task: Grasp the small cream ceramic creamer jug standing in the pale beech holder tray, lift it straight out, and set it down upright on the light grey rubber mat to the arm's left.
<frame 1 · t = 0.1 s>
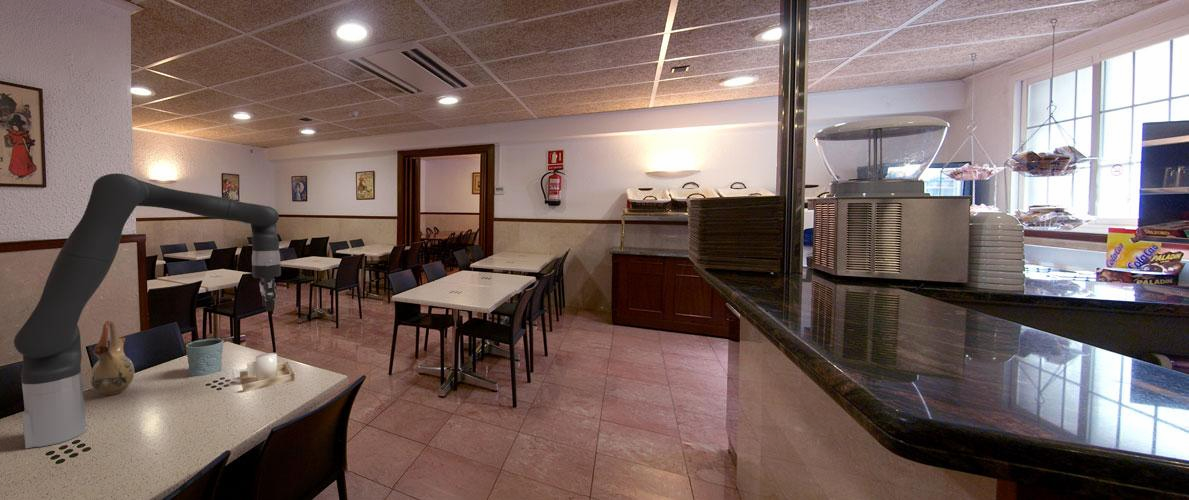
hand: (268, 308, 134), 29 cm above the table, fingers open, 8 cm apart
beech holder: (267, 380, 142), on the table
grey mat: (251, 373, 147), on the table
teal plant pot: (206, 373, 146), on the table
cream jug: (267, 379, 142), resting on beech holder
ceramic vessel: (114, 392, 129), on the table
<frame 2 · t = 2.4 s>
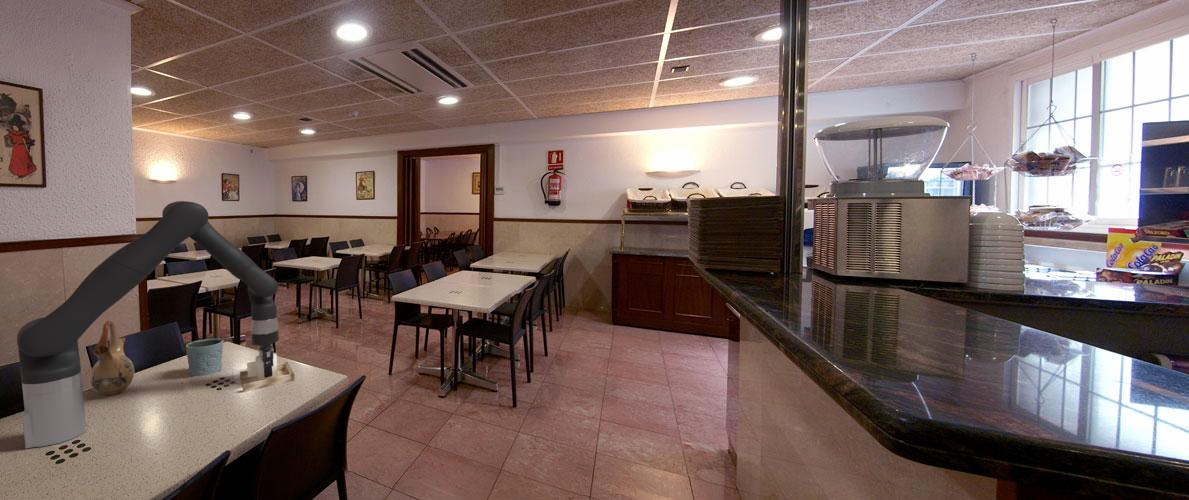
hand: (267, 373, 141), 3 cm above the table, fingers closed on cream jug, 6 cm apart
cream jug: (267, 379, 142), point 1 cm above the table, touching beech holder, gripper
everything else where it was.
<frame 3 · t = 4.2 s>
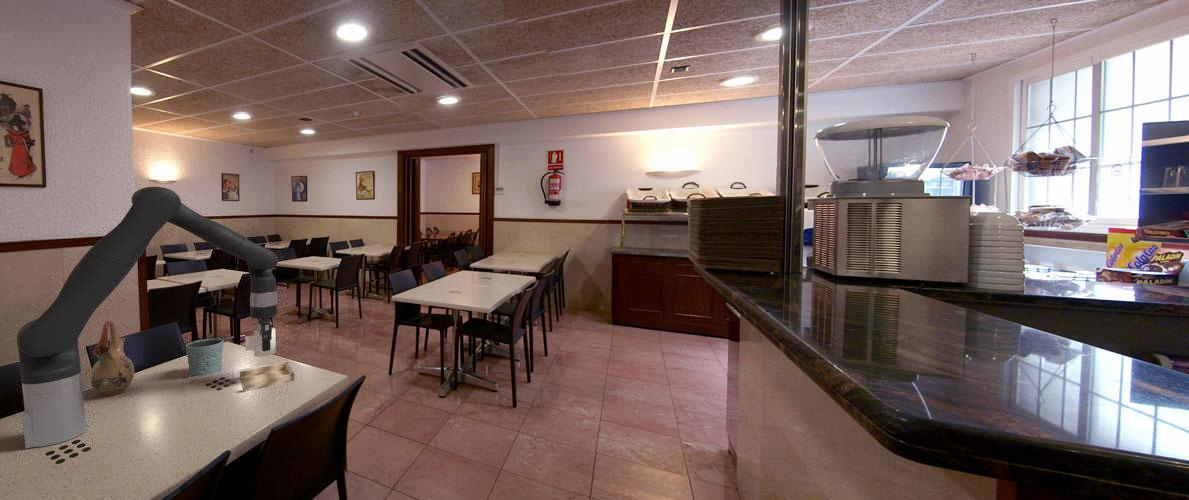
hand: (265, 348, 140), 13 cm above the table, fingers closed on cream jug, 6 cm apart
cream jug: (265, 353, 141), point 10 cm above the table, touching gripper
everything else where it was.
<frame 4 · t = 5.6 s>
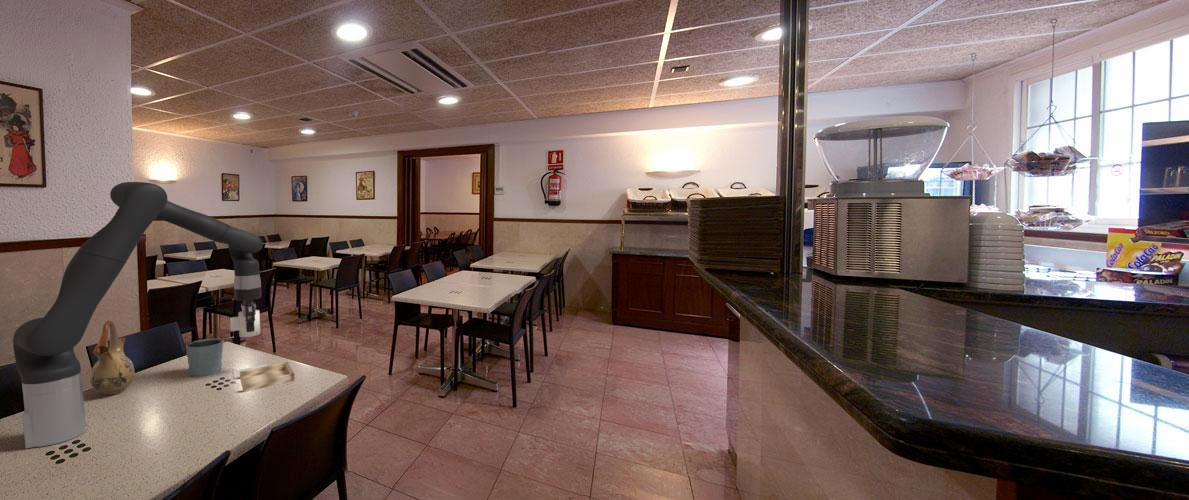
hand: (249, 329, 146), 17 cm above the table, fingers closed on cream jug, 6 cm apart
cream jug: (250, 334, 146), point 15 cm above the table, touching gripper
everything else where it was.
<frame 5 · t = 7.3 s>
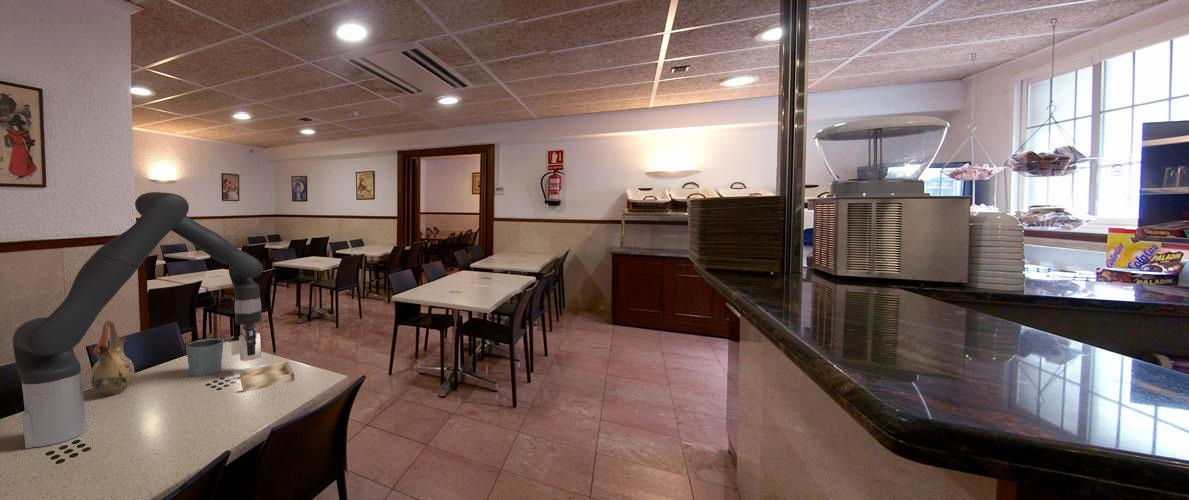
hand: (250, 352, 147), 8 cm above the table, fingers closed on cream jug, 6 cm apart
cream jug: (250, 357, 147), point 6 cm above the table, touching gripper
everything else where it was.
when the fingers open (4 cm above the table, at t = 8.7 s): cream jug drops 1 cm, resting on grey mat.
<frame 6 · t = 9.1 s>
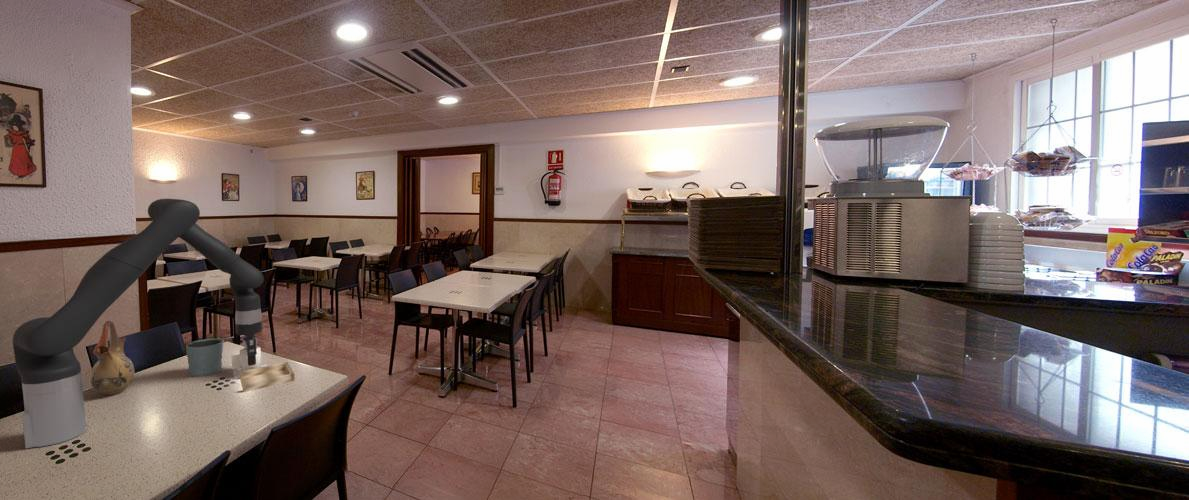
hand: (250, 361, 147), 5 cm above the table, fingers open, 8 cm apart
cream jug: (251, 371, 147), point 1 cm above the table, touching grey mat
everything else where it was.
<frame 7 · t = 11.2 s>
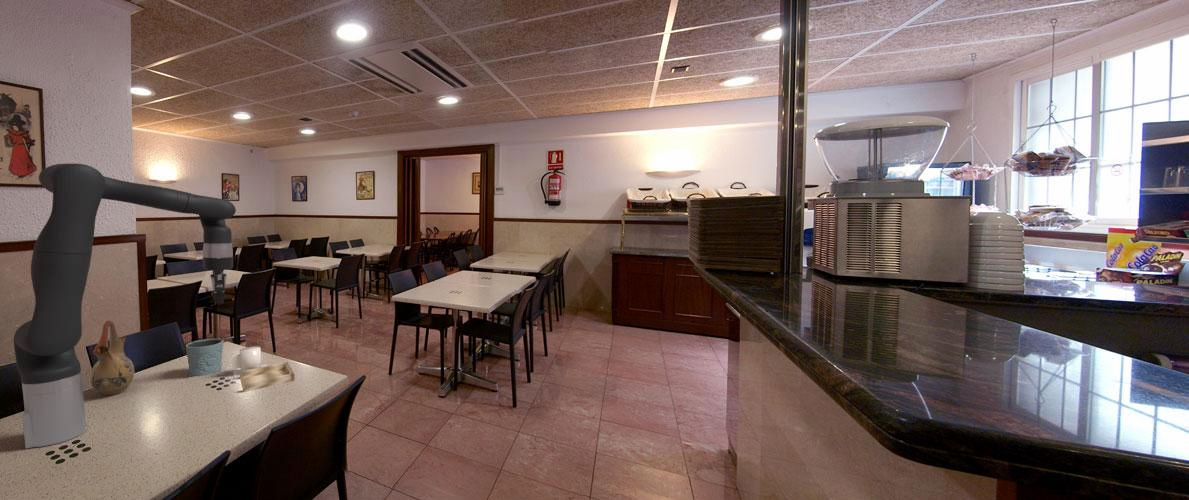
hand: (218, 301, 135), 31 cm above the table, fingers open, 8 cm apart
nothing on the table moved.
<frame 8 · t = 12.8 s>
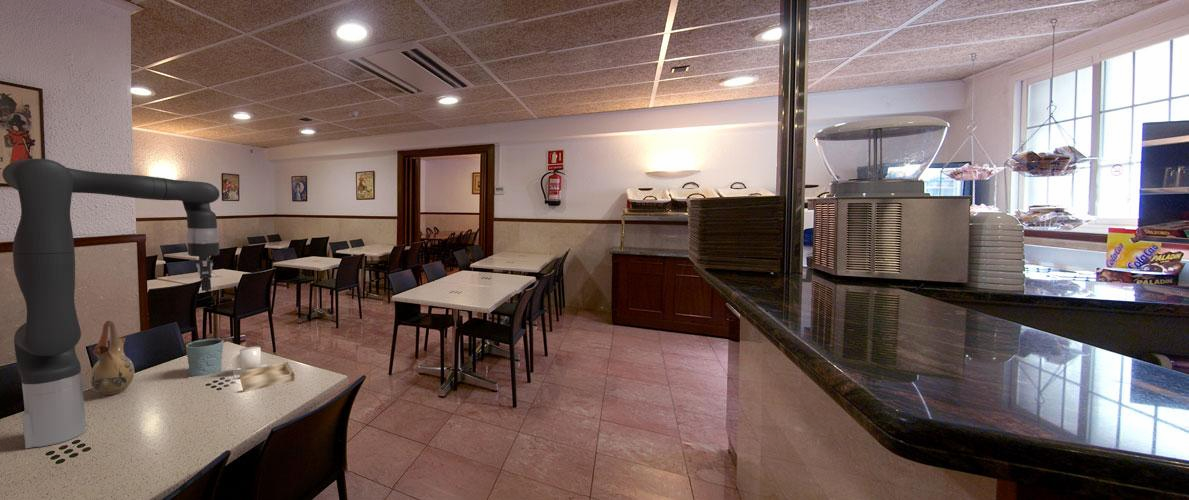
hand: (206, 288, 131), 36 cm above the table, fingers open, 8 cm apart
nothing on the table moved.
at the end: cream jug inside the target area (0.1 cm from its centre), point 0.6 cm above the table; cream jug tilted 0°; cream jug touching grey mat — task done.
